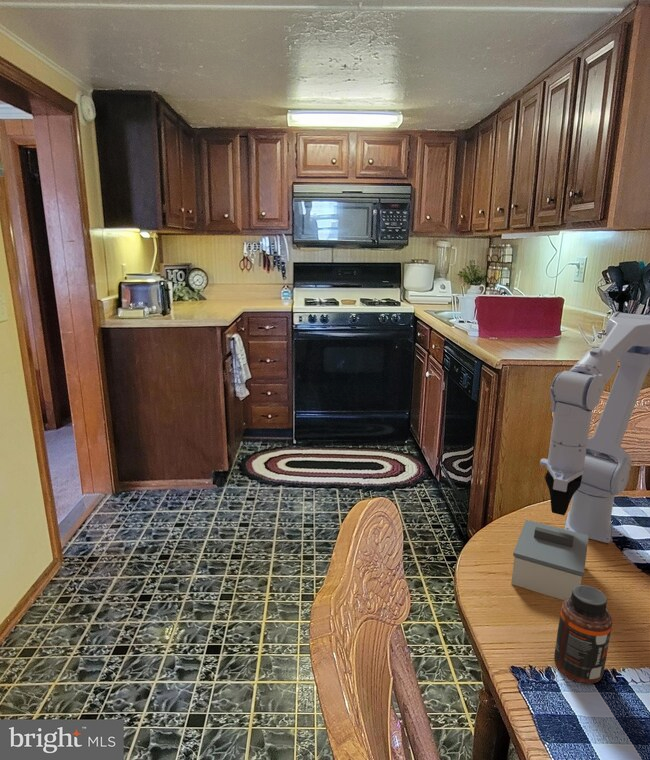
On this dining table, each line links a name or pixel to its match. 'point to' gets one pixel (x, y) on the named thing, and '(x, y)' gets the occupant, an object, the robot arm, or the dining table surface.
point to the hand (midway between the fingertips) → (558, 512)
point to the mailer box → (544, 578)
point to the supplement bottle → (583, 635)
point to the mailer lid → (552, 547)
